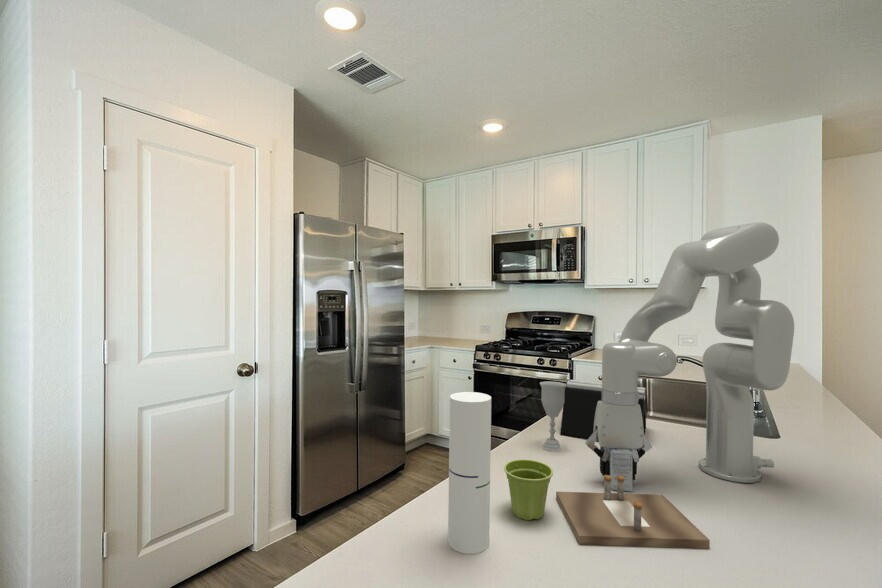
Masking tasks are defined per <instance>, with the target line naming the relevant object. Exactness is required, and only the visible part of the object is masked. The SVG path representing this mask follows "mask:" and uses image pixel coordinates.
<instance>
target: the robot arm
mask: <svg viewBox="0 0 882 588" xmlns="http://www.w3.org/2000/svg"><path fill="white" fill-rule="evenodd" d="M779 242H780V238H779V233H778V231H777V229H775V227H774V226H772V225H771V224H769V223H766V222H762V221H761V222H760V221H759V222H750V223H745V224H739V225H732V226H725V227H720V228H717V229H712V230H710V231H707V232H706V233H704V234H703V235H702V237H701V238H700V240H695V241H690V242H685V243H682V244H680V245H678V246H677V247H675V249H674V250H673V251H672V253H671V256H670V257H669V260H668V262H667V264H666V266H665V269H664V271H663V274H662V275H661V276H662V277H661V278H660V280H659V284H658V285H657V288H656V290H655V292H654V294H653V296H652V298H650V299H649V301H647V302H646V303H645V304H644V305H642V307H640V308H639V309H638V310H637V311H636V312H635V313H634V314H633V315H632V316H631V317H630V319H629V320H628V322H627V323H626V324H625V327H624V328H623V331H622V333H621V335H620V337H619V339H618V341H617V342H608V343H605V344H604V345H603V347H602V353H601V355H602V357H601V359H602V360H601V365H602V366H601V383H602V401H598V403H597V407H596V412H595V419H594V428H593V434H592V435H591V436H590V437H589V438H588V440H585V445H586V446H587V448H589V449H590V450H591V451H593V452H594V453H595V454H596V455H597V456H598V457H599V471H600V474H601V475H602V476H603V477H604V475H609V476H610V462H609V461H608V456H609V453H610V449H630V451H631V452H632V481H636V475H637V473H638V463H639V462H640V459H641V458H642V457H643V456H644V455H646V453H647V452H648V451H650V450H651V449H652V448H653V445H652V443H651V442H650V441H649V439H648V438H647V437H646V435H645V436H644V428H643V419H642V413H641V408H640V405H639V404H638V399H643V393H639V392H638V391H637V390H638V387H639V386H638V384H639V383H638V380H639V379H638V376H645V377H646V376H647V377H654V378H660V377H661V378H662V377H666V376H669V375H670V374H672V373H673V372H674V371H675V369H676V367H677V363H678V360H677V356H676V354H675V352H674V351H673V350H672V349H671V348H670V347H668V346H666V345H665V344H664V345H663V344H661V343H656V342H652V341H651V342H650V341H649V340H650V339H651V337H652V335H653V334H654V333H655V331H657V330H658V329H659V328H660V327H661V326H663V325H664V324H666V323H669V322H671V321H673V320H677V319H678V318H682V316H684V315H686V314H688V313H690V312H691V311H692V309H693V307H694V306H695V303H696V300H697V297H698V296H699V293H700V291H701V288H702V286H703V284H704V281H705V279H706V278H707V277H718V291H717V292H718V293H717V298H716V299H717V300H716V308H715V317H714V325H715V329H716V331H717V332H718V333H719V334H721V335H722V336H725V337H729V338H732V339H733V338H735V339H739V340H740V339H741V340H749V341H752V345H747V344H741V343H733V342H717V343H714V344H712V345H709V346H708V347H707V348H706V349H705V350H704V352H703V354H702V355H703V356H702V369H703V373H704V377H705V384H706V385H705V387H706V423H705V424H706V425H705V427H706V429H705V430H706V431H705V433H706V434H705V435H706V437H705V457H703V458H700V459H699V460H698V467H699V469H700V470H701V471H703V472H704V473H706V474H708V475H711V476H713V477H716V478H718V479H722V480H726V481H728V482H729V481H730V482H734V483H735V482H736V483H744V484H746V483H748V484H749V483H750V484H751V483H757V482H759V481H761V479H762V474H761V472H760V471H759V469H761V468H774V467H775V462H774V460H773V459H770V458H761V457H760V456H758V455H757V456H756V455H754V424H755V423H754V422H755V421H754V420H755V419H754V418H755V417H754V415H755V413H754V412H755V404H754V403H755V402H754V398H753V395H752V392H751V391H750V389H749V388H751V389H757V390H762V391H775V390H779V389H780V388H781V387H783V386H784V385H785V383H786V382H787V379H788V377H789V373H790V372H789V371H790V367H791V359H792V358H791V357H792V353H793V352H792V351H793V343H794V333H795V319H794V315H793V314H792V311H791V309H790V308H789V307H788V306H787V305H785V304H784V303H783V302H781V301H778V300H771V299H761V292H762V279H761V278H762V277H761V276H760V273H759V270H757V268H756V267H755V265H756V264H758V263H760V262H762V261H765V260H766V259H768V258H770V257H771V256H772V255H773V254H774V253H775V252H776V250H777V248H778V246H779ZM596 443H598V445H599V447H598V446H596V445H595V444H596Z"/></svg>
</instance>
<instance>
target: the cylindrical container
mask: <svg viewBox="0 0 882 588" xmlns="http://www.w3.org/2000/svg"><path fill="white" fill-rule="evenodd" d="M491 435H492V396H491V395H489V394H487V393H483V392H476V391H461V392H455V393H452V394H450V395H449V437H448V438H449V441H448V442H449V443H448V445H449V448H448V449H449V451H448V504H447V505H448V507H447V508H448V510H447V511H448V513H447V514H448V516H447V517H448V519H447V520H448V521H447V542H448V545H449V547H450V548H451V549H453V550H454V551H456V552H458V553H460V554H461V553H462V554H465V555H472V554H473V555H475V554H479V553H482V552H484V551H485V550H487V549H488V548H489V545H490V522H491V521H490V516H491V515H490V512H491V511H490V509H491V508H490V506H491V505H490V504H491V503H490V502H491V501H490V500H491V450H492V449H491V447H492V445H491V444H492V443H491V441H492V437H491Z"/></svg>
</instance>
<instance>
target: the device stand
mask: <svg viewBox="0 0 882 588" xmlns="http://www.w3.org/2000/svg"><path fill="white" fill-rule="evenodd" d="M566 385H567V386H566V387H565V393H564V405H563V408H562V411H561V412H562V414H561V422H560V423H561V424H560V433H559V435H560V436H564V437H569V438H576V439H580V438H581V439H580V440H586V439H587V440H588V438H589V437H590V436H591V435H592V434H593V428H594V419H595V412H596V407H597V403H598V401H602V382H596V381H586V380H578V379H577V380H576V379H569V381H567V382H566ZM637 391H638V392H639V393H643V399H638V404H639V405H640V408H641V413H642V419H643V428H644V435H645V434H646V430H645V429H647V401H646V400H647V394H646V392H647V390H646V387H641V386H638V390H637ZM645 436H646V435H645ZM587 440H586V441H587Z"/></svg>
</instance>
